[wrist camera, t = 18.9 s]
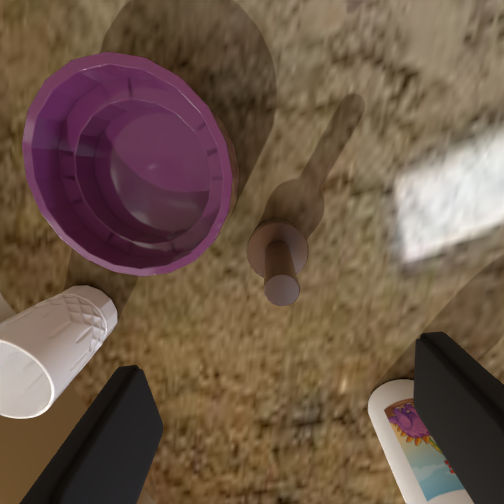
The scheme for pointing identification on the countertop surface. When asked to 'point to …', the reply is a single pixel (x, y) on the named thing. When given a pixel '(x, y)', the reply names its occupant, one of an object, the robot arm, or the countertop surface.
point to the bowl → (129, 164)
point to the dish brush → (278, 259)
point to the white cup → (50, 348)
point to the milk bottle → (412, 448)
